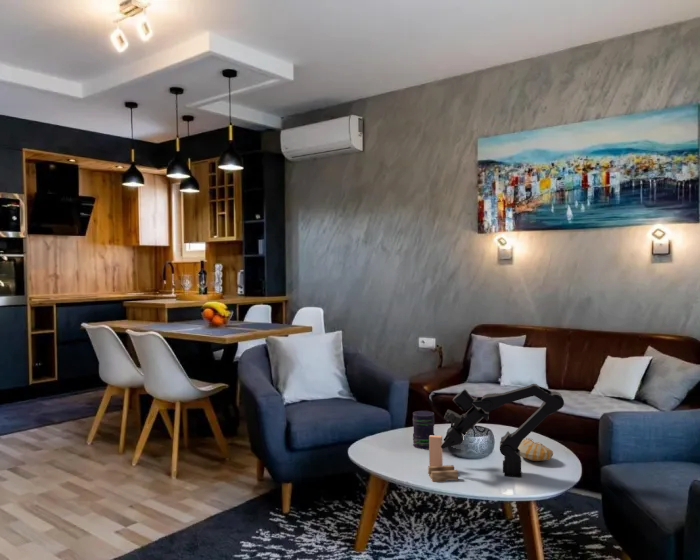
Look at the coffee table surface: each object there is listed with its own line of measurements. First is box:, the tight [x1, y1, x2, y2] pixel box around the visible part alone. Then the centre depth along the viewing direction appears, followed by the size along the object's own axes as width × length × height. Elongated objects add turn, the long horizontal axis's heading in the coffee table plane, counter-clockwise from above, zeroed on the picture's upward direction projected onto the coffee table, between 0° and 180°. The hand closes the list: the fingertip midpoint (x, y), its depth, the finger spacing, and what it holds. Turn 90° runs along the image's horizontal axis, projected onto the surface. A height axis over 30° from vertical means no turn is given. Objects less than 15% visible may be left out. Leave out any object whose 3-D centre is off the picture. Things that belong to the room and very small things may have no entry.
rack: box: [427, 464, 459, 482], centre depth 221 cm, size 10×8×3 cm
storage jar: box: [412, 410, 435, 450], centre depth 260 cm, size 10×10×15 cm
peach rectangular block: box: [428, 434, 444, 466], centre depth 231 cm, size 5×2×13 cm, turn 74°
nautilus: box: [518, 437, 554, 462], centre depth 242 cm, size 8×22×15 cm
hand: (442, 444), depth 230 cm, fingers open, 9 cm apart
